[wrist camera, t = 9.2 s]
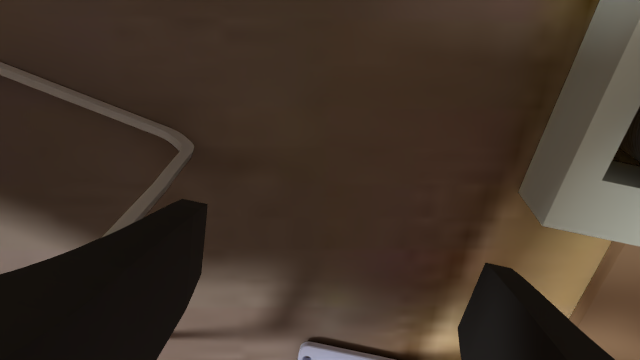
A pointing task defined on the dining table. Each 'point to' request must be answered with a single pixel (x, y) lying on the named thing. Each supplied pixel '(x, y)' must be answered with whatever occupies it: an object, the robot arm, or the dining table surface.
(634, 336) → the brown square tile
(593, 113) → the port box
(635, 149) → the plug
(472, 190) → the dining table surface
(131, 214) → the chair
